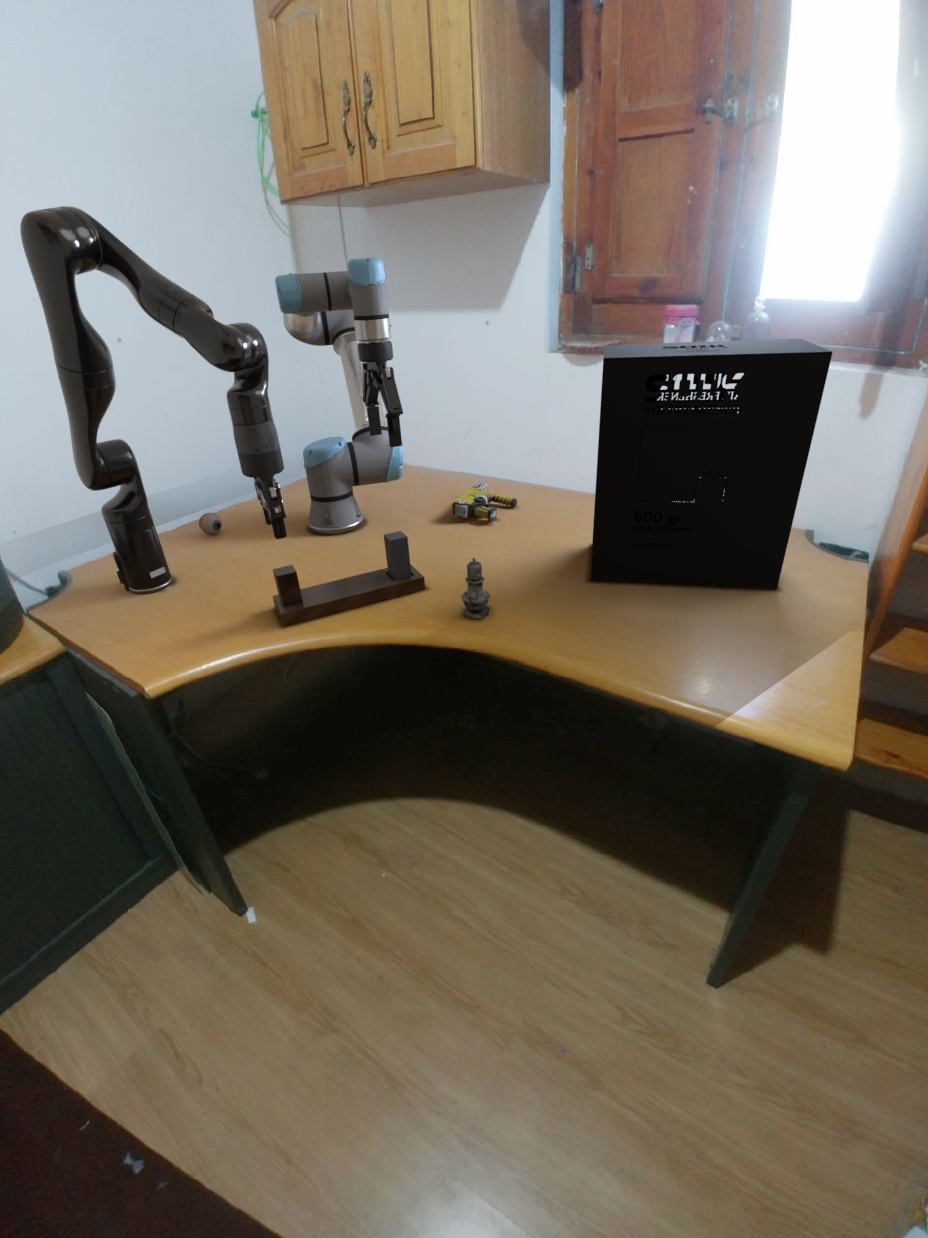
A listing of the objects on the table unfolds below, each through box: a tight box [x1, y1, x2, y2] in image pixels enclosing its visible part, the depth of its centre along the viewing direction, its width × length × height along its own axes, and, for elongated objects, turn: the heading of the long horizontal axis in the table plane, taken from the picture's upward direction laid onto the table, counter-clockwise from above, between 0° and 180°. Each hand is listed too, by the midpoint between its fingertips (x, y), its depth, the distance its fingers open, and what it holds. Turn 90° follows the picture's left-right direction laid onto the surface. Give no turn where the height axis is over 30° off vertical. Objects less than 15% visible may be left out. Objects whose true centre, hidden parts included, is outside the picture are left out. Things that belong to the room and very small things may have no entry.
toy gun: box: [451, 480, 518, 523], centre depth 174 cm, size 5×24×15 cm
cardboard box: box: [589, 338, 834, 590], centre depth 125 cm, size 38×20×45 cm, turn 78°
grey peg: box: [383, 530, 412, 581], centre depth 132 cm, size 4×4×12 cm
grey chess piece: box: [460, 557, 491, 619], centre depth 119 cm, size 6×6×12 cm
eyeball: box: [198, 512, 223, 536], centre depth 167 cm, size 6×6×6 cm
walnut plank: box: [272, 563, 426, 627], centre depth 128 cm, size 31×9×10 cm, turn 116°
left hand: (276, 530), depth 117 cm, fingers open, 8 cm apart
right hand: (385, 440), depth 141 cm, fingers open, 13 cm apart
